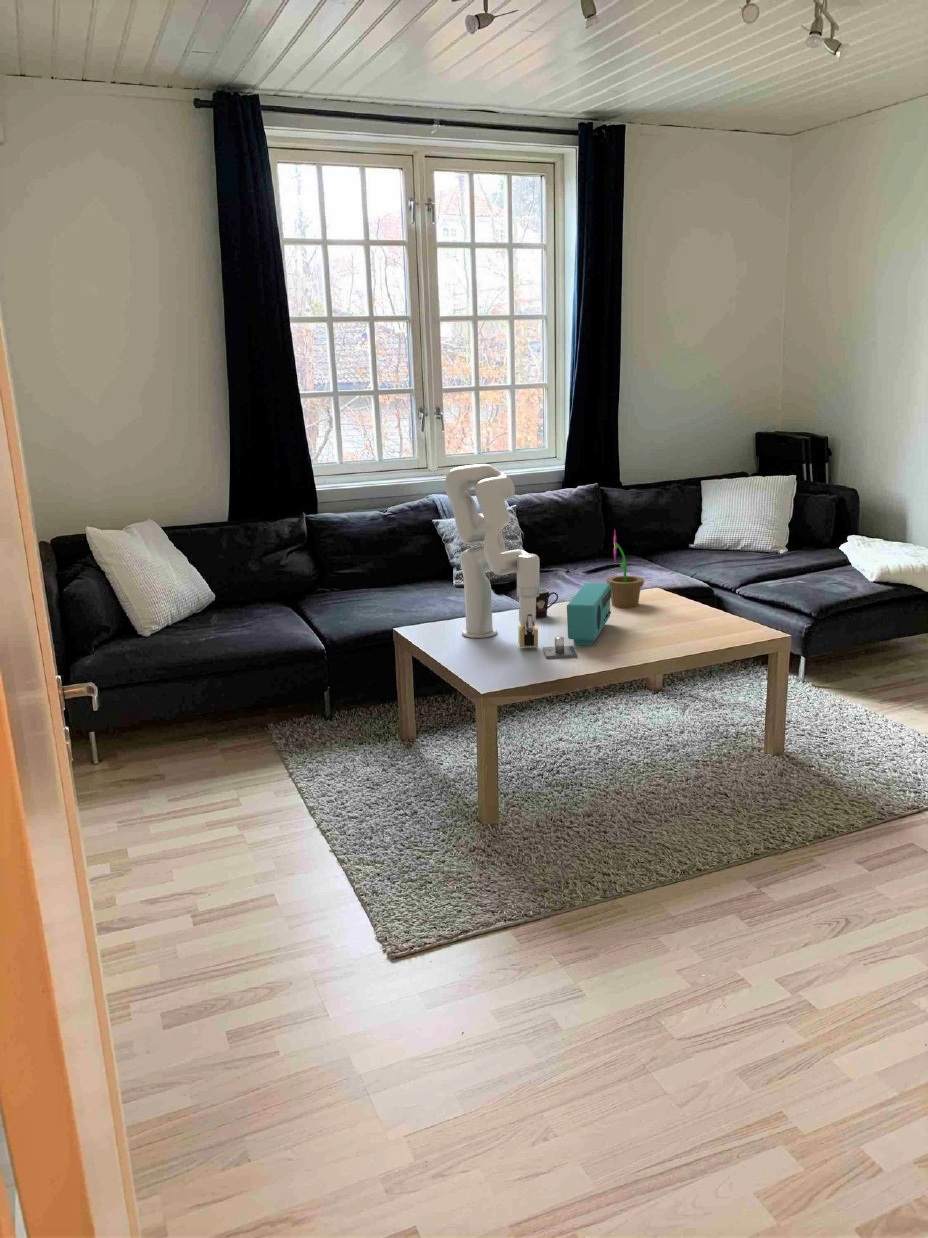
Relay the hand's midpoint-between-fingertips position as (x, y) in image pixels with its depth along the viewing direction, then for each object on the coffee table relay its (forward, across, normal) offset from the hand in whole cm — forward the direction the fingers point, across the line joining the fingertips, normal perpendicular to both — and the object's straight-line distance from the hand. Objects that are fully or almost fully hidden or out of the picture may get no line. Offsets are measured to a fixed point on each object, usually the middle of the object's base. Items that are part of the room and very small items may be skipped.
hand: (528, 642), depth 322 cm
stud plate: (+2, +8, +10) cm, 13 cm away
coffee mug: (+3, -41, +10) cm, 42 cm away
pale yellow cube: (+1, 0, 0) cm, 1 cm away
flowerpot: (+3, -52, +44) cm, 68 cm away
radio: (+2, -13, +24) cm, 27 cm away
